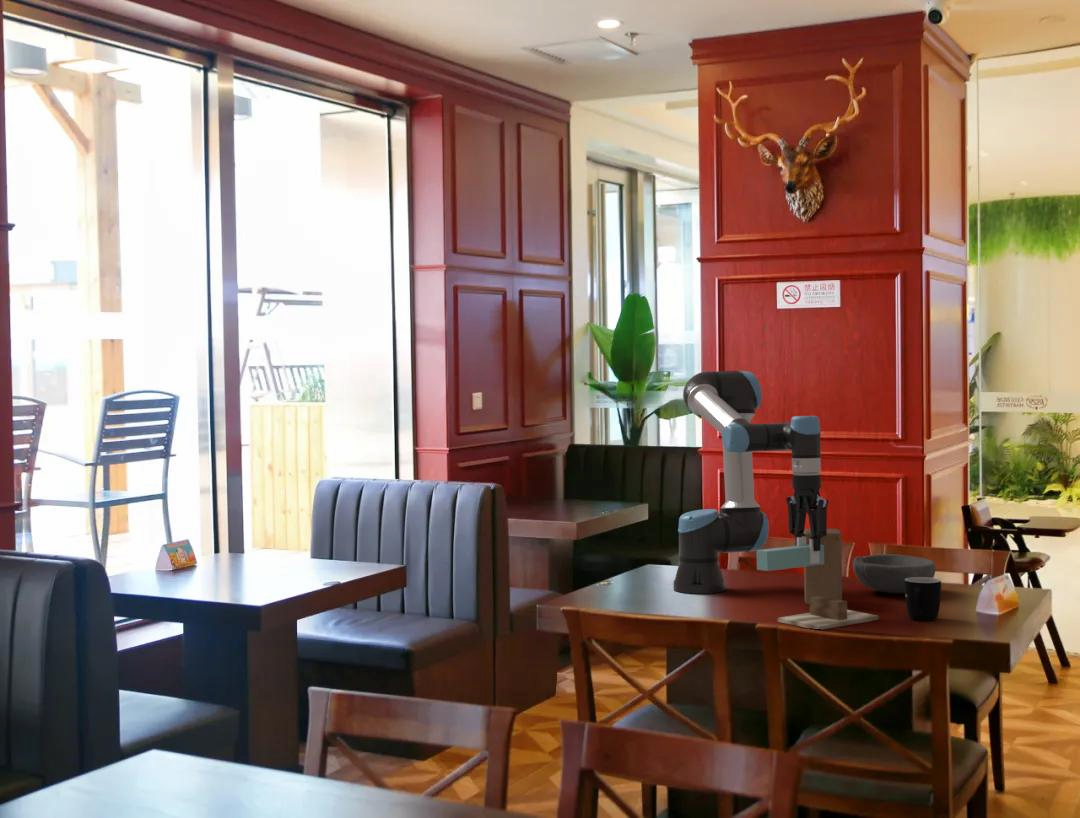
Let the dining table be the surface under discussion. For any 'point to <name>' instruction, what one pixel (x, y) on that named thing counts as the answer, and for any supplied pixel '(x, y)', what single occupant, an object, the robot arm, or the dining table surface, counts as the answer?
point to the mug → (923, 598)
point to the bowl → (891, 571)
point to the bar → (786, 558)
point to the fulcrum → (827, 615)
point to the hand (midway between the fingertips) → (808, 562)
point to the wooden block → (825, 568)
